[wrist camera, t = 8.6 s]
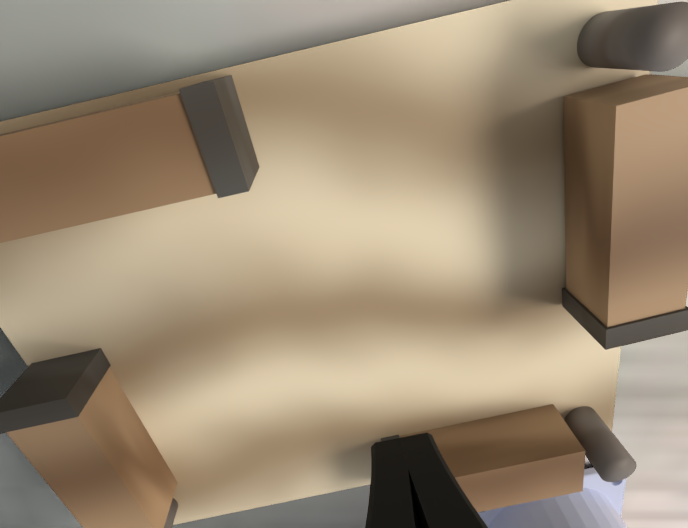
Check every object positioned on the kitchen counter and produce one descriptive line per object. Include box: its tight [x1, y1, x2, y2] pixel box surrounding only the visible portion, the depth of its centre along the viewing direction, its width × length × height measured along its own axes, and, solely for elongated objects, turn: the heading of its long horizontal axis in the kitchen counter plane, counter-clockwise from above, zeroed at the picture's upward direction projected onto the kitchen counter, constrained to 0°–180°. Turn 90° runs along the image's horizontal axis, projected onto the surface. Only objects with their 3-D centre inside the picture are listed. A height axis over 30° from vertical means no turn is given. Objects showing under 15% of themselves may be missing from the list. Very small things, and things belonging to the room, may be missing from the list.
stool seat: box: [0, 0, 688, 528], centre depth 15 cm, size 18×22×4 cm
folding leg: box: [562, 74, 688, 350], centre depth 13 cm, size 8×3×3 cm, turn 14°
